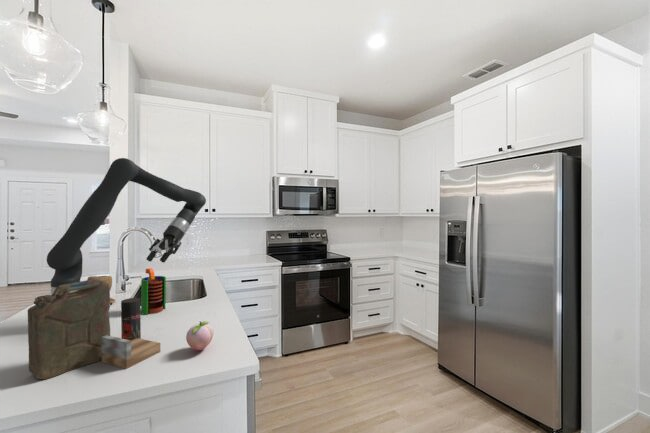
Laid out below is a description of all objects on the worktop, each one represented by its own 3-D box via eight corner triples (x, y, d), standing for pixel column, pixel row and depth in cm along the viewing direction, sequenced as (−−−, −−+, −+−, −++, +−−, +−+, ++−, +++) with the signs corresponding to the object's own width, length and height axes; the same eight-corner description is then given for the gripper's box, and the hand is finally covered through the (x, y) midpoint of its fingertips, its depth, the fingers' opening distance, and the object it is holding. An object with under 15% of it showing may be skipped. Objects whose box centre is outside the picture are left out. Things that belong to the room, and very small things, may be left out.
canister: (101, 350, 106) (100, 277, 105) (113, 356, 101) (112, 280, 100) (26, 375, 90) (25, 289, 89) (36, 384, 85) (35, 293, 85)
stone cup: (111, 299, 164) (111, 271, 164) (117, 304, 156) (117, 275, 156) (75, 306, 153) (74, 276, 153) (79, 311, 145) (78, 280, 145)
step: (101, 362, 97) (101, 337, 97) (136, 346, 109) (136, 323, 108) (126, 368, 94) (126, 342, 93) (160, 351, 105) (160, 328, 105)
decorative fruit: (193, 344, 111) (193, 316, 110) (216, 344, 110) (216, 316, 110) (180, 356, 101) (180, 326, 101) (205, 357, 101) (205, 326, 101)
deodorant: (144, 339, 115) (144, 299, 114) (128, 345, 109) (127, 303, 109) (133, 336, 117) (133, 297, 117) (117, 342, 112) (117, 301, 111)
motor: (152, 315, 140) (152, 271, 140) (135, 314, 142) (135, 270, 142) (168, 308, 150) (168, 267, 150) (152, 307, 152) (152, 266, 152)
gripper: (160, 224, 137) (137, 255, 128) (182, 224, 131) (159, 256, 121) (171, 234, 142) (150, 265, 133) (193, 235, 136) (172, 266, 127)
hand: (155, 261), depth 127 cm, fingers open, 8 cm apart
